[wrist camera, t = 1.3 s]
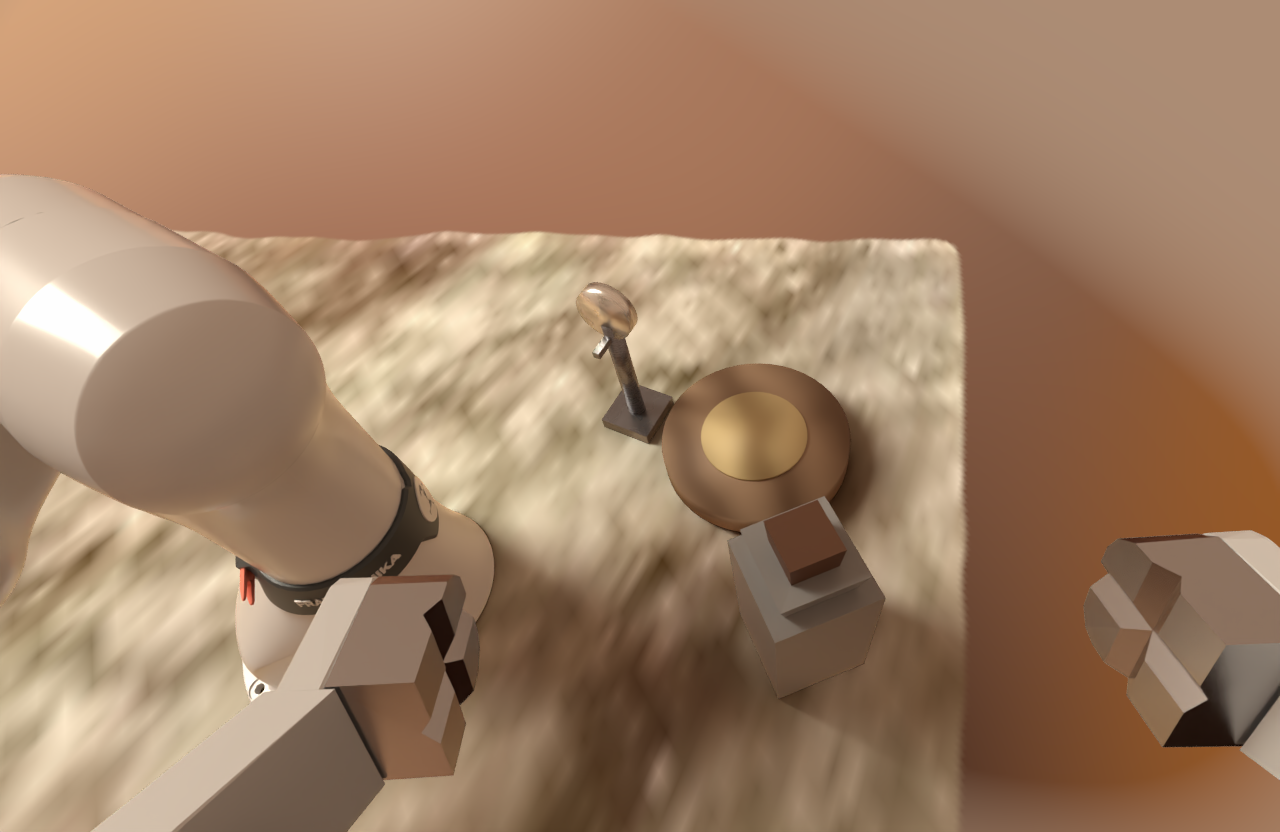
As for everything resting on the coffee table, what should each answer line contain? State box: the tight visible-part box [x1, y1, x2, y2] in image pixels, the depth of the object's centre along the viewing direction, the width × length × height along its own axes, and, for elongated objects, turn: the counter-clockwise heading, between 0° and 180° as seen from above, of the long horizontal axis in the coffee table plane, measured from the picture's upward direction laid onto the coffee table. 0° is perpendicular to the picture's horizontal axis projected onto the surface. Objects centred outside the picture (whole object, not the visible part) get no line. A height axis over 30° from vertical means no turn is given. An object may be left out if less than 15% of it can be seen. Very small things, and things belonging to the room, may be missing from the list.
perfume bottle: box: [727, 496, 885, 699], centre depth 43 cm, size 7×7×18 cm
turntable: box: [662, 364, 851, 532], centre depth 58 cm, size 16×16×3 cm
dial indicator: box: [576, 282, 674, 444], centre depth 58 cm, size 5×5×17 cm
